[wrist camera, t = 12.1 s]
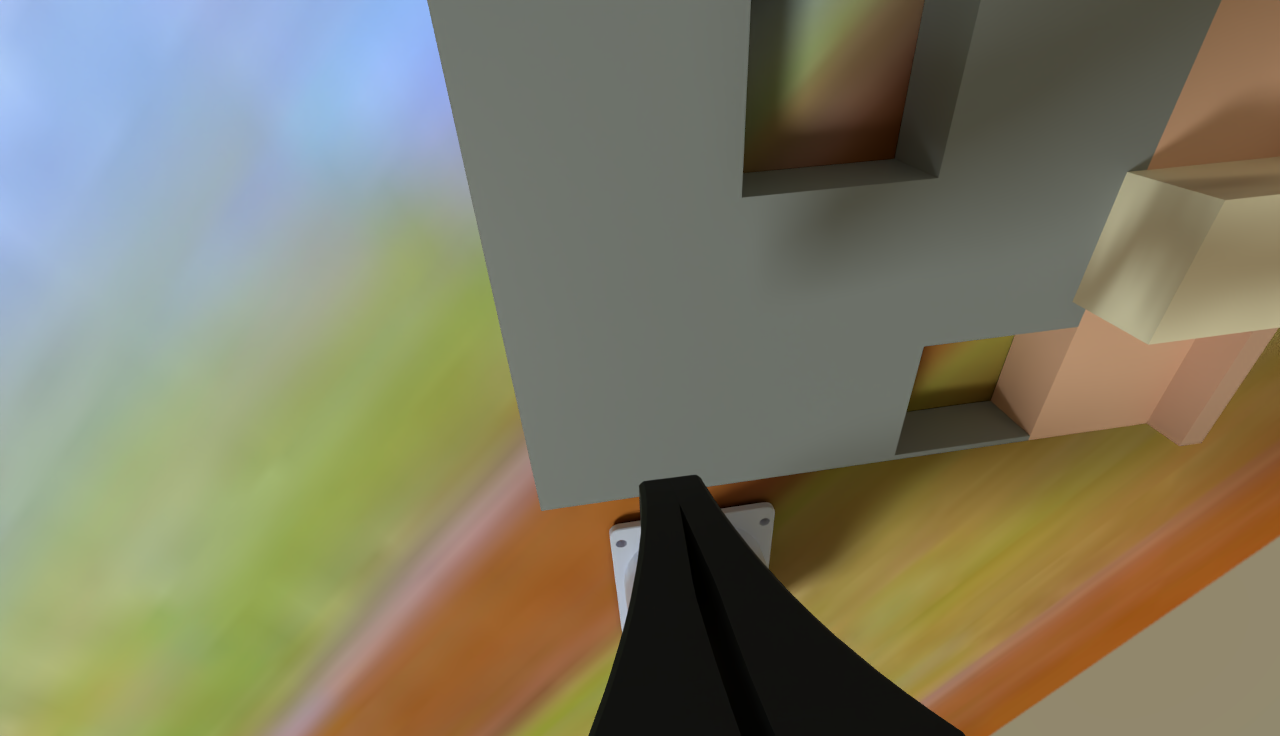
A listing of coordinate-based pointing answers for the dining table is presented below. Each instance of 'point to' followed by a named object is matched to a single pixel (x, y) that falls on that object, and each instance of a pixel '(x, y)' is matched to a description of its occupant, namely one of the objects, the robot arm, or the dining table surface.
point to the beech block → (1190, 252)
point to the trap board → (832, 231)
